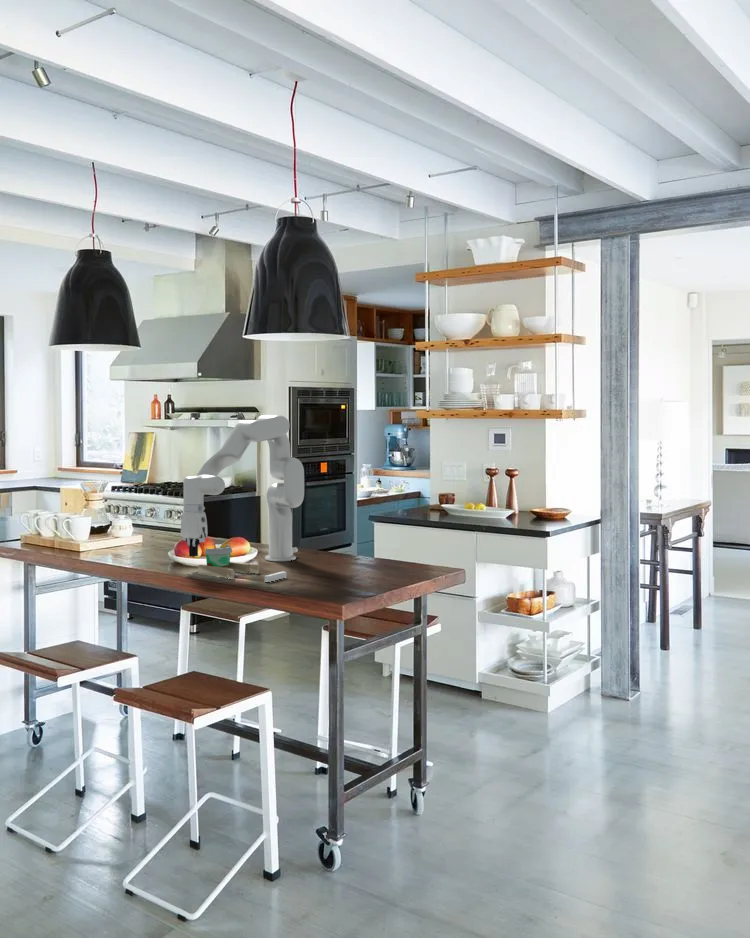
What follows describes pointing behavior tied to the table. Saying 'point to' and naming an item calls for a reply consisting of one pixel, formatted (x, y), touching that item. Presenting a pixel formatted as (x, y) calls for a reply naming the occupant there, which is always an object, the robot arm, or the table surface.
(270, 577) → the white notched bar
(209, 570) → the chute
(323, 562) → the table surface
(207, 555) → the food container
